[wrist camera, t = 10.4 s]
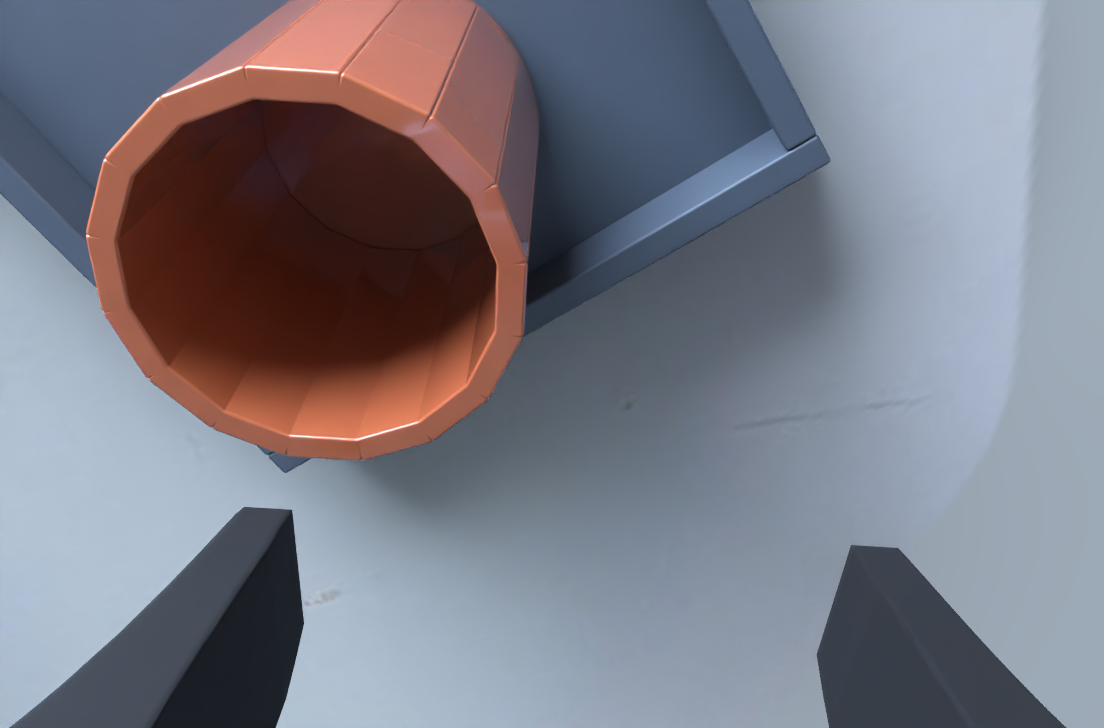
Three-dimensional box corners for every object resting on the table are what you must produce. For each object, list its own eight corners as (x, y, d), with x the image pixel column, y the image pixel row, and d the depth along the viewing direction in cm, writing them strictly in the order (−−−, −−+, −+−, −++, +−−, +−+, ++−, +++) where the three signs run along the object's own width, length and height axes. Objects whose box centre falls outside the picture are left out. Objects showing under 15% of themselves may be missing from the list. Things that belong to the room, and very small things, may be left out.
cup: (548, -20, 17) (537, 85, 11) (532, 264, 19) (516, 471, 13) (233, -41, 16) (43, 51, 10) (264, 247, 19) (130, 448, 13)
